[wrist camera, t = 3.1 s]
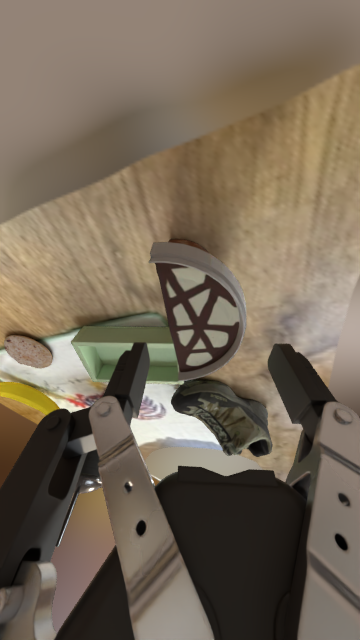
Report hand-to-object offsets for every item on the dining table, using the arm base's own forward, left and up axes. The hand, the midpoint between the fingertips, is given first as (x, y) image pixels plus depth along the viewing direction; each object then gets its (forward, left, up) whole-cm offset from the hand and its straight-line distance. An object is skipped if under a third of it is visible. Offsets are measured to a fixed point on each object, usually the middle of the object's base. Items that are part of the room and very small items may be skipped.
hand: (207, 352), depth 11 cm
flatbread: (+29, +13, -12) cm, 34 cm away
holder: (+10, +12, -12) cm, 19 cm away
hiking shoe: (-5, +26, -12) cm, 29 cm away
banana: (+35, +25, -12) cm, 45 cm away
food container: (0, 0, -12) cm, 12 cm away
